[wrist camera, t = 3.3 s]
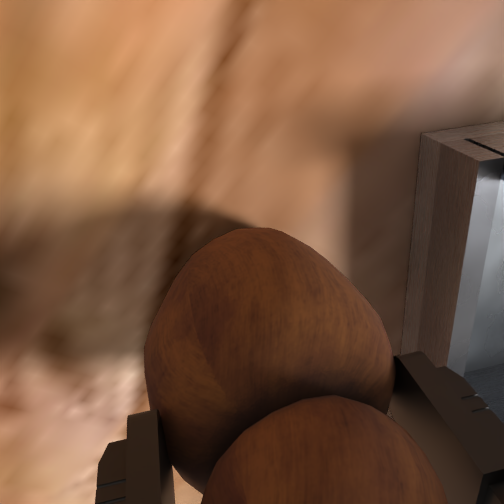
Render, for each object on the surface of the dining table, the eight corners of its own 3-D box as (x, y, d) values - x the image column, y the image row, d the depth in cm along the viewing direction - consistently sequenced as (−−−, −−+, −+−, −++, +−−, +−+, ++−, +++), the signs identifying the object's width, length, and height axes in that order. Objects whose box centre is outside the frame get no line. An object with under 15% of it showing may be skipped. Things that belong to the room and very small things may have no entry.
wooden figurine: (227, 373, 19) (404, 1112, 7) (114, 301, 17) (37, 1330, 4) (349, 263, 18) (873, 921, 5) (248, 166, 15) (825, 1043, 2)
